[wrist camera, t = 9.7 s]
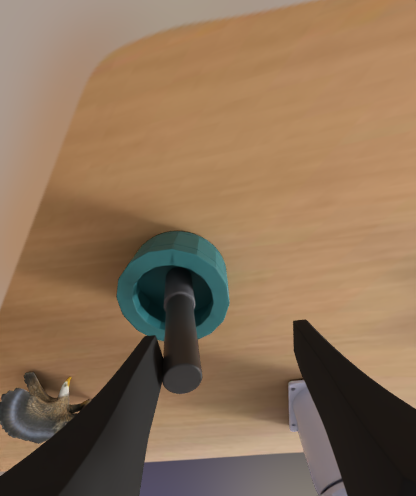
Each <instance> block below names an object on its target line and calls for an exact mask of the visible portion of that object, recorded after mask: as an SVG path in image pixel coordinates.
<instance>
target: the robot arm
mask: <svg viewBox="0 0 416 496" xmlns="http://www.w3.org/2000/svg"><path fill="white" fill-rule="evenodd" d="M293 335H294V353H295V356H296V360H297V363H298V366H299V369H300V372H301V374H302V377H303V379H304V380H296V381H290V382H289V383H288V400H289V428H290V431H292V432H295V431H298V433H299V436H300V440H301V443H302V446H303V450H304V453H305V457H306V460H307V464H308V467H309V470H310V474H311V477H312V481H313V484H314V487H315V489H316V491H317V493H318V495H319V496H416V409H415V408H413V407H412V406H410V405H409V404H407V403H406V402H404V401H403V400H401V399H399V398H398V397H396V396H395V395H393V394H392V393H390V392H389V391H388V390H386V389H385V388H383V387H382V386H381V385H379V384H378V383H377V382H375V381H374V380H372V379H371V378H370V377H369V376H367V375H366V374H365V373H363V372H362V371H361V370H360V369H358V368H357V367H356V366H355V365H354V364H352V363H351V362H350V361H349V360H348V359H347V358H345V357H344V356H343V355H342V354H341V353H340V352H339V351H338V350H336V349H335V348H334V347H333V346H332V345H331V344H330V343H329V342H328V341H327V340H326V339H325V338H324V337H323V336H322V335H321V334H320V333H319V332H318V331H317V330H316V329H315V328H314V327H313V326H312V325H311V324H310V323H309V322H308V321H307V320H297V321H293ZM162 374H163V356H162V353H161V350H160V347H159V344H158V341H157V338H156V335H152V336H145V337H144V338H143V339H142V340H141V342H140V343H139V344H138V345H137V347H136V348H135V349H134V351H133V352H132V353H131V355H130V356H129V357H128V358H127V360H126V361H125V362H124V364H123V365H122V366H121V367H120V369H119V370H118V371H117V372H116V373H115V375H114V376H113V377H112V378H111V379H110V380H109V382H108V383H107V384H106V385H105V386H104V387H103V389H102V390H101V391H100V392H99V393H98V394H97V395H96V396H95V397H94V398H93V399H92V400H91V401H90V402H89V403H88V404H87V405H86V406H85V407H84V408H83V409H82V410H81V411H80V412H79V413H78V414H77V415H76V416H75V417H74V418H72V419H71V420H70V421H69V422H68V423H67V424H66V425H65V426H64V427H63V428H61V429H60V430H59V431H58V432H57V433H56V434H54V435H53V436H52V437H51V438H50V439H48V440H47V441H46V442H45V443H44V444H42V445H41V446H40V447H39V448H37V449H36V450H35V451H34V452H32V453H31V454H30V455H28V456H27V457H26V458H24V459H23V460H22V461H20V462H19V463H18V464H16V465H15V466H14V467H12V468H11V469H9V470H8V471H7V472H5V473H4V474H3V475H1V476H0V496H139V494H140V487H141V480H142V473H143V467H144V461H145V454H146V448H147V442H148V438H149V433H150V429H151V425H152V421H153V417H154V413H155V409H156V405H157V401H158V397H159V393H160V389H161V385H162Z"/></svg>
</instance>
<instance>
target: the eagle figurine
mask: <svg viewBox="0 0 416 496" xmlns="http://www.w3.org/2000/svg"><path fill="white" fill-rule="evenodd" d="M24 378H25V380H24V381H25V383H26V384H27V387H28V390H29V392H28V391H26V390H24V389H21V388H15V390H14V391H8V392H7V393H6V394H3V395H2V397H1V400H2V401H1V402H0V424H1V425H2V429H4V430H5V432H8V435H9V436H11V437H13V438H19V439H23V440H25V441H28V440H29V441H32V442H34V443H38V444H39V443H42V442H44V441H46V440H48V439H50V438H51V437H52V436H53V435H54V434H56V432H58V431H59V430H60V429H61V428H63V427H64V426H65V425H66V424H67V423H68V422H69V421H70V420H71V419H72V418H74V417H75V416H76V415H77V413H75V412H78V411H81V410H82V409H83V408H84V407H85V406H86V405H87V404H88V403H89V402H90V401H91V400H92V399H88V400H86V401H84V402H83V403H81V404H77V405H70V404H69V385H70V380H71V378H72V377H69V378H68V379H67V380H66V381H65V382H64V384H63V385H62V387H61V389H60V393H59V396H58V398H52V397H50V396H49V395H48V394H47V393H46V392H45V390H44V389H43V387H42V386H41V385H40V383H39V381H38V379H37V377H36V375H35V373H34V372H32V373H31V372H29V373H25V375H24ZM73 413H75V414H73Z"/></svg>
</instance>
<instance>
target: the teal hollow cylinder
mask: <svg viewBox="0 0 416 496" xmlns="http://www.w3.org/2000/svg"><path fill="white" fill-rule="evenodd" d="M176 267H181V268H185V269H186V270H188V271H189V272H190V274H191V278H192V284H193V291H194V297H195V309H194V317H195V324H196V332H197V339H200V338H202V337H204V336H207V335H209V334H211V333H212V332H213V331H214V330H215V329H216V328H217V327H218V326H219V325H220V324H221V323H222V322H223V320H224V318H225V315H226V312H227V310H228V307H229V303H230V302H229V291H228V281H227V273H226V266H225V263H224V260H223V258H222V256H221V254H220V253H219V251H218V250H217V249H216V248H215V247H214V246H213V245H212V244H211V243H210V242H209V241H207V240H206V239H204V238H202V237H200V236H198V235H196V234H193V233H189V232H183V231H171V232H165V233H162V234H159V235H157V236H155V237H153V238H151V239H150V240H148V241H147V242H146V243H145V244H143V245H142V246H141V248H140V249H139V250H138V252H137V253H136V254H135V256H134V257H133V259H132V260H131V261H130V263H129V264H128V265H127V267H126V268H125V270H124V271H123V273H122V274H121V276H120V277H119V279H118V287H117V300H118V303H119V306H120V308H121V311H122V314H123V315H124V317H125V318H126V319H127V320H128V321H129V322H130V323H131V324H132V325H133V326H134V327H135V329H136V330H138V331H140V332H142V333H143V334H145V335H147V336H152V335H156V338H157V340H161V341H164V338H165V321H166V312H165V309H164V294H165V281H166V275H167V273H168V272H169V271H170V270H171V269H173V268H176Z"/></svg>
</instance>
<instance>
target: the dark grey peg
mask: <svg viewBox="0 0 416 496" xmlns="http://www.w3.org/2000/svg"><path fill="white" fill-rule="evenodd" d="M164 309H165V312H166V321H165V338H164V356H163V374H162V382H163V385H164V387H165V388H166V389H167V390H168V391H170V392H172V393H176V394H184V393H188V392H191V391H193V390H194V389H196V388H197V387H198V386H199V384H200V383H201V380H202V369H201V362H200V354H199V347H198V339H197V332H196V324H195V317H194V309H195V297H194V291H193V284H192V278H191V274H190V272H189V271H188V270H186V269H185V268H181V267H176V268H173V269H171V270H170V271H169V272H168V273H167V275H166V281H165V294H164Z"/></svg>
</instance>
